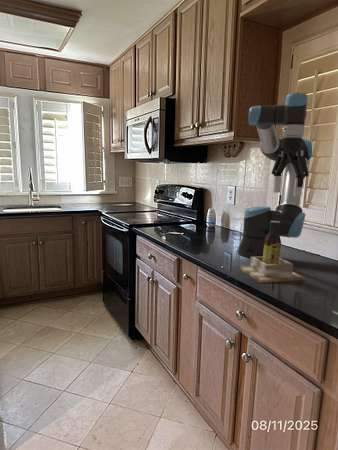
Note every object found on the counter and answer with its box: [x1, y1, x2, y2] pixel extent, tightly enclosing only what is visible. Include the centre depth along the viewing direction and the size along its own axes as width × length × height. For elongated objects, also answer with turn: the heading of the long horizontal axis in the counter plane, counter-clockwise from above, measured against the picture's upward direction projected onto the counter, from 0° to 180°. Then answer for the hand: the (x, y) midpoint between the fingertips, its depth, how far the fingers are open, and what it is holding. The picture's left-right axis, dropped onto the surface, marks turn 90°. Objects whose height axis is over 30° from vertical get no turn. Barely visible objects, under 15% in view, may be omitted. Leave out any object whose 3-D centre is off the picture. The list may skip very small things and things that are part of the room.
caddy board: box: [239, 256, 304, 284], centre depth 124 cm, size 16×18×6 cm
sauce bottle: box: [262, 221, 282, 264], centre depth 123 cm, size 6×6×20 cm
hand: (286, 194), depth 122 cm, fingers open, 13 cm apart
